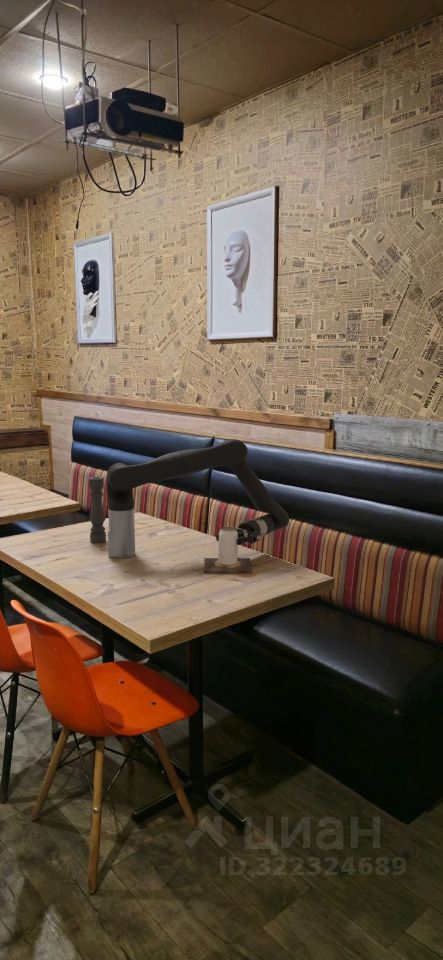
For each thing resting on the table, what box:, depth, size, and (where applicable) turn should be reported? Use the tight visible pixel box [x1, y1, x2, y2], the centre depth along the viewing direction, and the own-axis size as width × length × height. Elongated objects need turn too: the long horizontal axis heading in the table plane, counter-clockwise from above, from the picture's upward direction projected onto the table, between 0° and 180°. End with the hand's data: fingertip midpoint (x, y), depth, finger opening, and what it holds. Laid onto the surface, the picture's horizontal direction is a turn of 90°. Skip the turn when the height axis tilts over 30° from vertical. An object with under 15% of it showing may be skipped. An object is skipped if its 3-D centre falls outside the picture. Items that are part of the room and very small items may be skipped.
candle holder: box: [88, 476, 107, 544], centre depth 258 cm, size 6×6×25 cm
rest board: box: [203, 557, 253, 574], centre depth 229 cm, size 16×14×1 cm
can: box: [218, 526, 239, 565], centre depth 228 cm, size 6×6×12 cm
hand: (227, 540), depth 227 cm, fingers open, 8 cm apart
